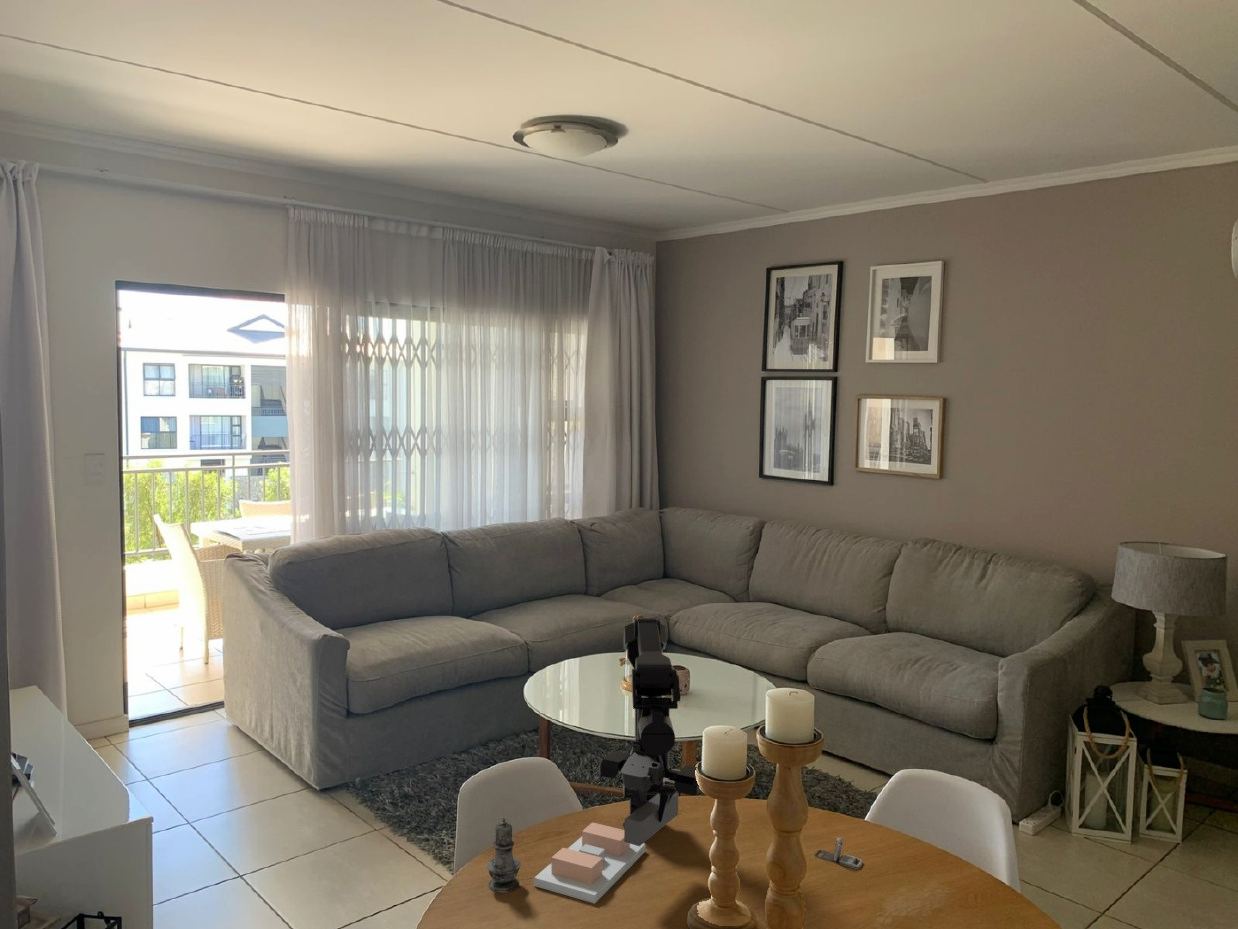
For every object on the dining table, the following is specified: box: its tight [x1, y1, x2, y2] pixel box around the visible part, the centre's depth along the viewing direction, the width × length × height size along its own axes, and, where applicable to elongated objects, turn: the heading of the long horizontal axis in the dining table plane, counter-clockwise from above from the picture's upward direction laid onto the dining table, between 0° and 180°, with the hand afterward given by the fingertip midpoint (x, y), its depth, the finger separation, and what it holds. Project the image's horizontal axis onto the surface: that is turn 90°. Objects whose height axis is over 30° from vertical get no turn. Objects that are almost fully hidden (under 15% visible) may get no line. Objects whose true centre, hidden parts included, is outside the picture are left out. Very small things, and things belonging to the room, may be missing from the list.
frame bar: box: [623, 792, 679, 846], centre depth 161 cm, size 14×3×4 cm, turn 148°
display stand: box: [533, 822, 646, 905], centre depth 165 cm, size 20×12×4 cm, turn 153°
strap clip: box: [813, 837, 863, 870], centre depth 169 cm, size 8×3×4 cm, turn 58°
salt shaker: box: [486, 817, 522, 894], centre depth 159 cm, size 6×6×12 cm
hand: (652, 819), depth 161 cm, fingers closed on frame bar, 3 cm apart
